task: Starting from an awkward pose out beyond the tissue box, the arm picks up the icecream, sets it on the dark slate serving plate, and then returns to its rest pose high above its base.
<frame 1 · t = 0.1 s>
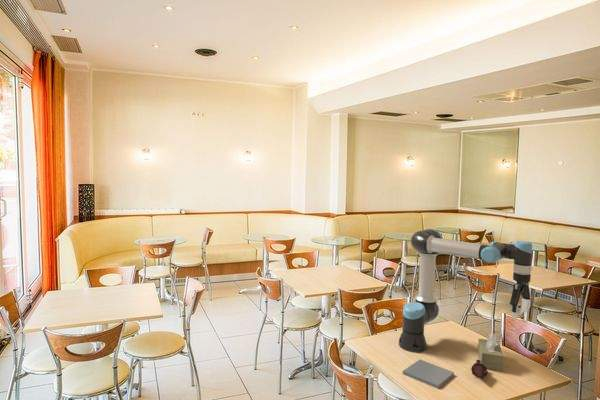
hand: (519, 315, 197), 28 cm above the table, tool pointing down, fingers open, 13 cm apart
slate plate: (428, 374, 193), on the table
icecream: (478, 377, 192), on the table
tissue box: (489, 362, 208), on the table
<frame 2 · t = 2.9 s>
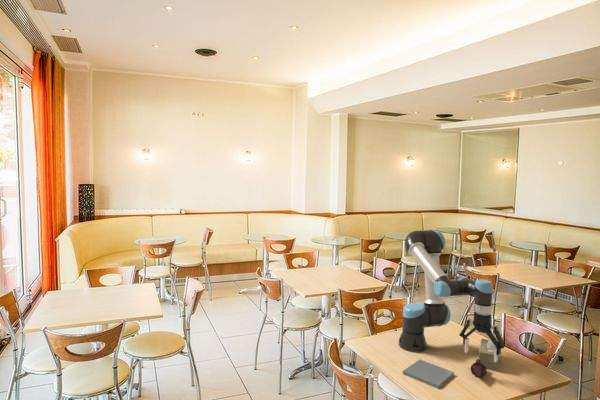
hand: (480, 356, 191), 10 cm above the table, tool pointing down, fingers open, 13 cm apart
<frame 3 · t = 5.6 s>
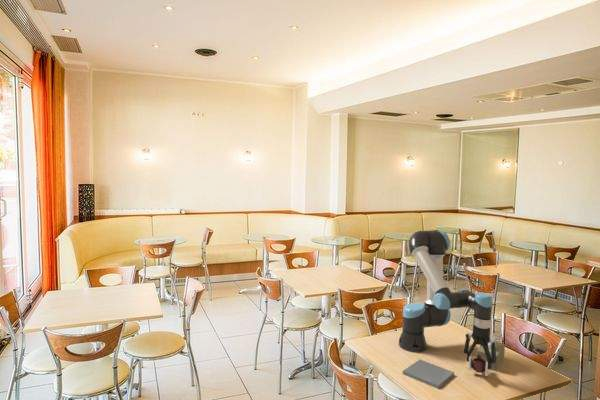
hand: (478, 371, 192), 2 cm above the table, tool pointing down, fingers closed on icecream, 7 cm apart
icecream: (478, 371, 193), point 2 cm above the table, touching gripper
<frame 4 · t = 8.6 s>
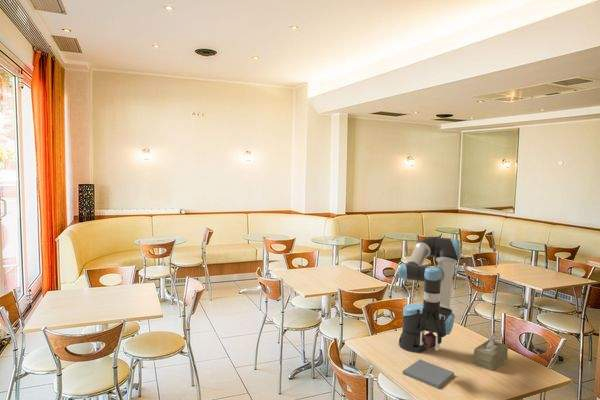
hand: (429, 346, 192), 14 cm above the table, tool pointing down, fingers closed on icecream, 7 cm apart
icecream: (430, 347, 193), point 13 cm above the table, touching gripper
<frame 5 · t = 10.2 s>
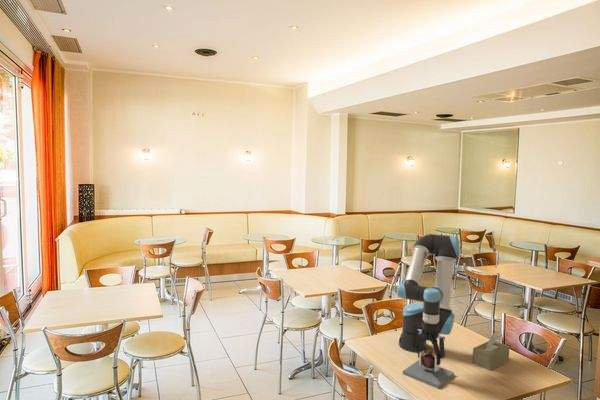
hand: (428, 367, 193), 4 cm above the table, tool pointing down, fingers closed on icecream, 7 cm apart
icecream: (429, 367, 193), point 3 cm above the table, touching gripper
when the fingers open (2 cm above the table, at t = 11.4 s): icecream stays where it is, resting on slate plate.
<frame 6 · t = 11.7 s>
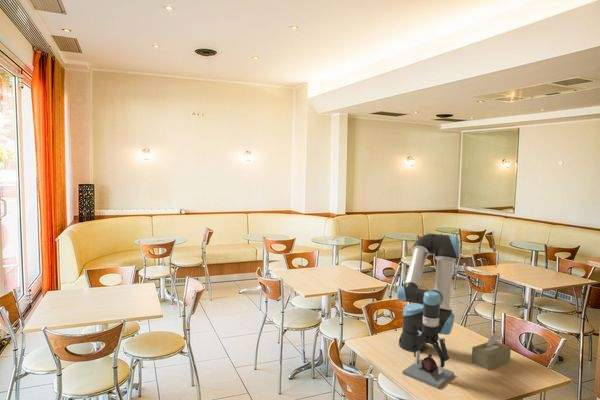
hand: (428, 368, 193), 3 cm above the table, tool pointing down, fingers open, 11 cm apart
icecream: (428, 371, 194), point 1 cm above the table, touching slate plate
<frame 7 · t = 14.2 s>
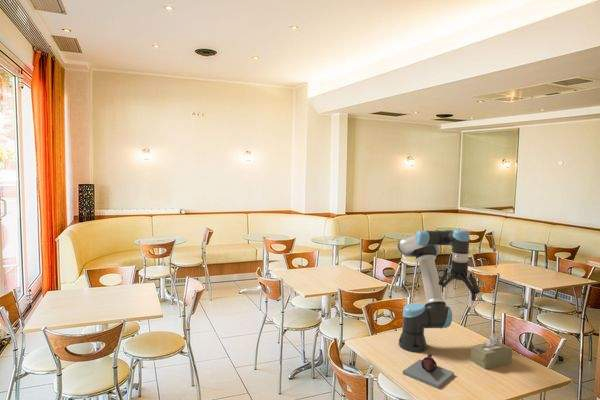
hand: (457, 302, 200), 33 cm above the table, tool pointing down, fingers open, 13 cm apart
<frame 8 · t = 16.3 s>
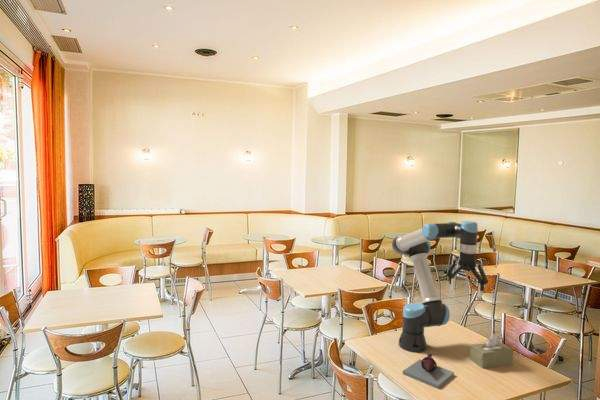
hand: (465, 293, 202), 37 cm above the table, tool pointing down, fingers open, 13 cm apart
at the end: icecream inside the target area on the slate plate (1.1 cm from its centre), point 1.3 cm above the slate plate's base; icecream tilted 1°; the gripper is holding nothing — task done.
